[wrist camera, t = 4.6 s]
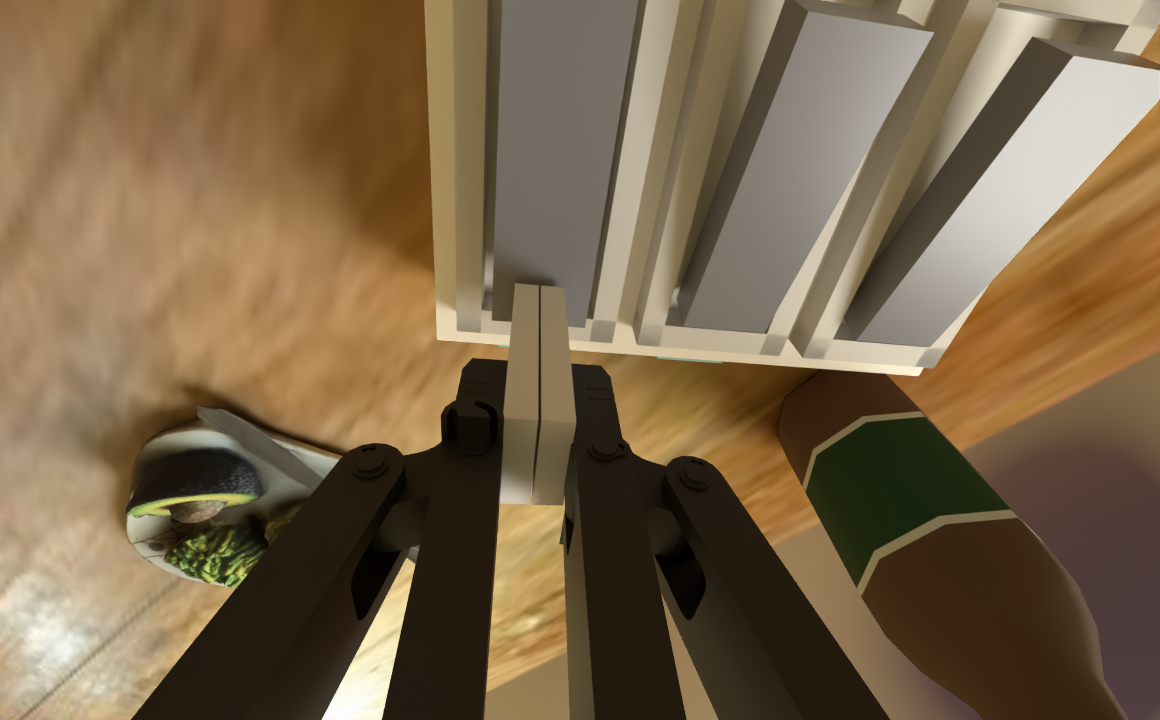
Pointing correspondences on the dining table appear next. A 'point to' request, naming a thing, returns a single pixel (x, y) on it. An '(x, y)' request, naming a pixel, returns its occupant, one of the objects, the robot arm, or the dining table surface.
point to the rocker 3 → (1002, 185)
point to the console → (697, 158)
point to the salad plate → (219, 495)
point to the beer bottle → (943, 554)
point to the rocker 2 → (795, 155)
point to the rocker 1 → (556, 143)
